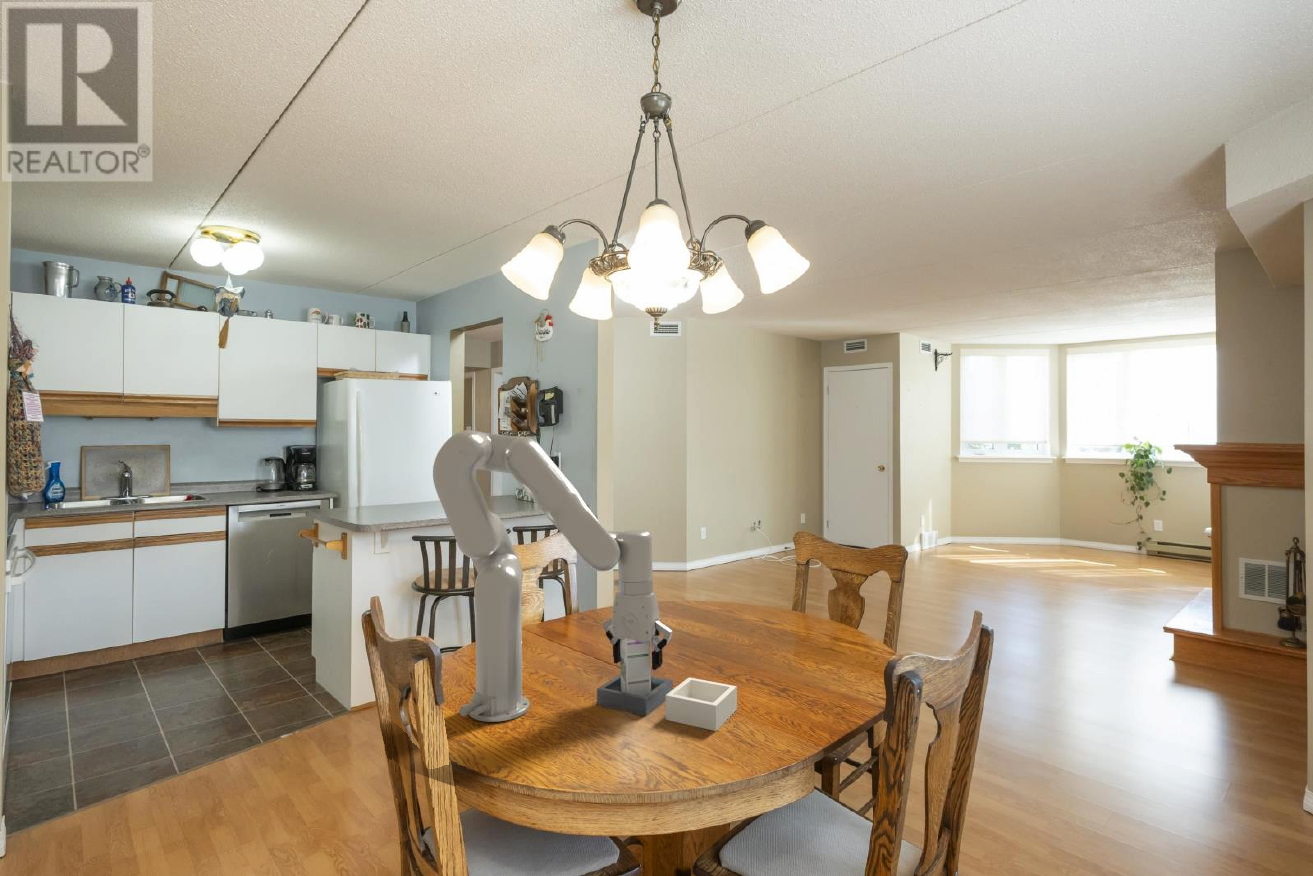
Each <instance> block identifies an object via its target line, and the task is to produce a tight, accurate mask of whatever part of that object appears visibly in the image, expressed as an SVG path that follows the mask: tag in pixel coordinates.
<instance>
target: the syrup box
mask: <svg viewBox="0 0 1313 876" xmlns="http://www.w3.org/2000/svg"><path fill="white" fill-rule="evenodd" d="M619 663H620V665H619V666H620V674H621V692H625V693H630V694H634V695H639V696H646V695H647V694H648V693H650V692H651V676H652V675H651V674H652V672H651V671H652V670H651V669H652V664H651V645H650V643H640V642H636V641H635V640H634V639H633V638H624V639H623V640H621V639H620V662H619Z"/></svg>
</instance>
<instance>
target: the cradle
mask: <svg viewBox="0 0 1313 876" xmlns="http://www.w3.org/2000/svg"><path fill="white" fill-rule="evenodd" d="M736 710H737V711H738V686H736V685H731V684H727V683H720V682H715V681H709V680H705V679H701V678H695V677H688V678H686V679H685V680H683V681H682V682H681V683H680V684H679V685H677V686H675V687H673V690H672V691H670V692H669V693H668V694H666V701H665V720H666V721H671V722H674V723H679V724H684V725H687V726H693V727H696V728H700V729H706V730H710V731H713V732H717V731H719V729H720V728H721V727H722V726H723V725H724V724H725V723H726V722H727V721H728V720H729V719H730V718H731V717H732V716H733V715H734V714H735V713H736V712H737V711H736ZM735 711H736V712H735ZM734 712H735V713H734ZM732 714H733V715H732ZM730 716H731V717H730ZM727 719H728V720H727Z"/></svg>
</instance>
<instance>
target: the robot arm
mask: <svg viewBox="0 0 1313 876" xmlns="http://www.w3.org/2000/svg"><path fill="white" fill-rule="evenodd" d="M432 467H433V468H432V479H433V485H434V489H435V491H436V494H437V497H438V499H439V502H440V504H441V506H442V509H443V511H444V514H445V517H446V518H447V519H446V520H447V522H448V524H449V525H450V528H451V531H452V533H453V536H454V539H455V542H456V543H457V544H456V545H457V546H458V548H459V550H460V552H461V553H463V555H465V556H466V557H467V558H469V559H471V561H472V563H473V566H474V567H475V571H476V572H477V576H476V578H475V583H474V589H473V592H474V595H473V596H474V598H473V600H474V611H475V612H474V614H475V692H474V693H472V699H471V700H470V701H469V703H466V704H464V705H462V706H460V707H459V709H458V710H459V714H460V716H461V717H465V716H467V715H469V716H470V717H471V719H473V720H476V721H479V722H487V723H498V722H505V721H510V720H514V719H516V718H518V717H521V716H523V715H525V714H526V713H527V712H528V711H529V709H530V700H529V699H528V698H527V697H526V696H525V695H524V694H523V634H522V633H523V632H522V630H523V628H522V626H523V625H522V624H523V620H522V616H523V615H522V606H523V605H522V598H523V597H522V595H523V593H522V592H523V590H522V589H523V579H524V578H523V577H524V570H523V566H522V564H521V562H520V559H519V556H518V554H517V552H516V549H515V548H514V546H513V545H514V544H513V543H512V541H511V538H510V536H509V534H508V531H507V530H506V527H505V524H504V523H503V521H502V520H501V518H500V517H499V516H498V514H496V513H494V512H492V511H491V510H490V508H489V506H488V503H487V501H486V499H485V496H484V493H483V491H482V489H481V487H480V485H479V483H478V480H477V470H483V471H490V472H495V473H496V472H497V473H505V474H506V473H507V474H511V475H512V476H513V478H514V479H515V480H516V481H517V482H518V484H520V486H521V487H522V489H524V491H526V493H527V494H528V495H529V497H531V498H532V500H533V501H534V503H535V504H536V505H537V507H539V509H540V510H541V511H542V512H543V514H544V515H545V516H546V518H547V519H548V520H549V521H550V522H551V523H552V524H553V525H554V526H555V527H556V529H557V530H558V531H559V532H560V534H561V535H562V536H563V537H564V538H565V539H566V540H567V541H568V543H569V544H570V546H571V547H572V548H573V549H574V550H575V552H576V553H578V555H579V556H580V557H581V559H582V560H583V561H584V563H586V565H588V566H589V568H591V569H593V570H594V571H598V572H607V571H610V570H612V569H613V568H615V567H616V565H617V568H618V569H617V570H618V571H617V572H618V576H617V577H618V579H615V580H614V581H613V583H614V586H615V587H617V588H618V591H617V592H615V595H614V600H613V606H612V616H611V618H610V619H608V620H606V621H603V623H602V624H601V625H602V628H603V630H604V632H605V636H606V637H607V639H608V640H609V641H610V645H612V658H613V663H614V664H618V663H620V639H621V640H623V639H624V638H633V639H634V640H635V641H636V642H640V643H650V647H652V650H653V651H651V669H652V670H653V671H657V670H658V669H660V668H661V667H662V665H663V661H664V660H663V649H665V647H666V646H667V645H668V644H669V643H670V641H671V638H672V637H673V635H674V631H673V630H672V629H671V628H670V627H668V626H667V625H666V624H663V622H661V621H660V620H661V618H660V611H659V609H660V608H659V604H658V603H659V602H658V599H657V595H656V592H654V587H653V584H654V583H653V581H654V578H653V543H652V542H653V539H652V535H651V533H650V532H649V531H648V530H643V529H630V530H623V531H615V530H607V529H606V528H605V527H604V526H603V525H602V523H601V522H600V521H599V520H598V519H597V517H596V516H595V515H594V514H593V512H592V511H591V510H590V508H589V507H588V506H587V504H586V502H585V501H584V500H583V498H582V496H581V494H580V493H579V491H578V490H577V488H576V487H575V485H573V483H572V482H571V481H570V480H569V479H568V477H566V475H565V474H564V473H563V471H562V470H561V469H560V468H559V466H557V464H556V463H555V462H554V461H553V460H552V458H551V457H550V456H549V455H548V453H547V452H546V451H545V450H544V449H543V447H542V446H541V445H540V443H539V442H537V441H536V440H534V439H533V438H530V437H522V436H521V437H520V436H510V435H505V434H504V435H503V434H497V433H492V432H483V431H478V430H471V429H467V430H466V429H465V430H461V431H458V432H455V433H454V434H452V435H451V437H449V438H448V439H447V440H446V441H445V442H444V443H443V445H442V446H441V447H440V448H439V450H438V452H437V454H436V456H435V459H434V462H433V466H432ZM661 634H663V638H662V639H661V637H660V635H661Z"/></svg>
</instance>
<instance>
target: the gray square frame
mask: <svg viewBox="0 0 1313 876" xmlns="http://www.w3.org/2000/svg"><path fill="white" fill-rule="evenodd" d="M673 683H674V680H673V679H670V678H663V677H659V676H656V675H655V676H654V675H651V692H650V693H648V694H647V695H646V696H639V695H634V694H630V693H625V692H621V673H620V674H619V675H616V676H615V677H614V678H612V679H610V680H609V681H607V682H605V683H604V684H602V685H600V686H599V687H597V688H596V706H600V707H603V706H604V708H609V709H612V710H617V711H622V712H626V713H630V714H635V715H638V714H640V716H642V717H647V716H649V715H650V714H652V712H654V711H655V710H656V709H657V708H659V707H660V706H662V705H663V704H664V703H665V702H666V694H668V693H669V692H670V691H672V690H673V689H674V684H673ZM664 701H665V702H664ZM659 705H660V706H659ZM653 710H654V711H653Z"/></svg>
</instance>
